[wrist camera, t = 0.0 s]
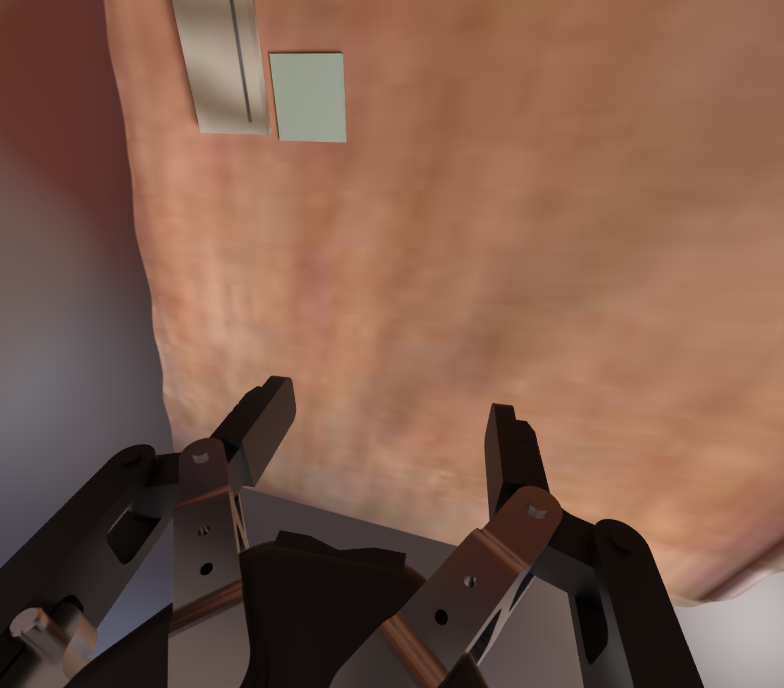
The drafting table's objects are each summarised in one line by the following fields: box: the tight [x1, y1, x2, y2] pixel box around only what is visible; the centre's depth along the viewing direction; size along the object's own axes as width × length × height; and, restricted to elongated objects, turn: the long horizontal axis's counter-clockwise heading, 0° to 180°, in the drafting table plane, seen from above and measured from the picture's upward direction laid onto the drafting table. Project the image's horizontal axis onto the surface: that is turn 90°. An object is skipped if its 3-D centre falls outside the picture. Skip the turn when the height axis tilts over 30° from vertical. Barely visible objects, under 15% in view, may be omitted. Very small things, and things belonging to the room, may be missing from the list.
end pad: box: [270, 53, 346, 142], centre depth 35 cm, size 7×7×1 cm
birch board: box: [172, 0, 271, 135], centre depth 31 cm, size 20×7×2 cm, turn 179°
